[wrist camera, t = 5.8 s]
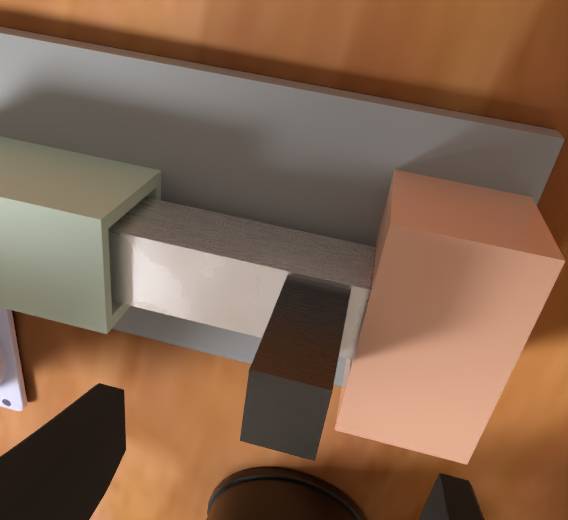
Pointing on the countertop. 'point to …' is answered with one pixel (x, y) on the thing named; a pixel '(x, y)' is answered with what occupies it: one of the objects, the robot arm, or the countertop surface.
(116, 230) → the sliding bolt
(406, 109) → the base board
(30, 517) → the robot arm
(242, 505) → the french press
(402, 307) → the socket block
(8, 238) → the outer sleeve
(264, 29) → the countertop surface
